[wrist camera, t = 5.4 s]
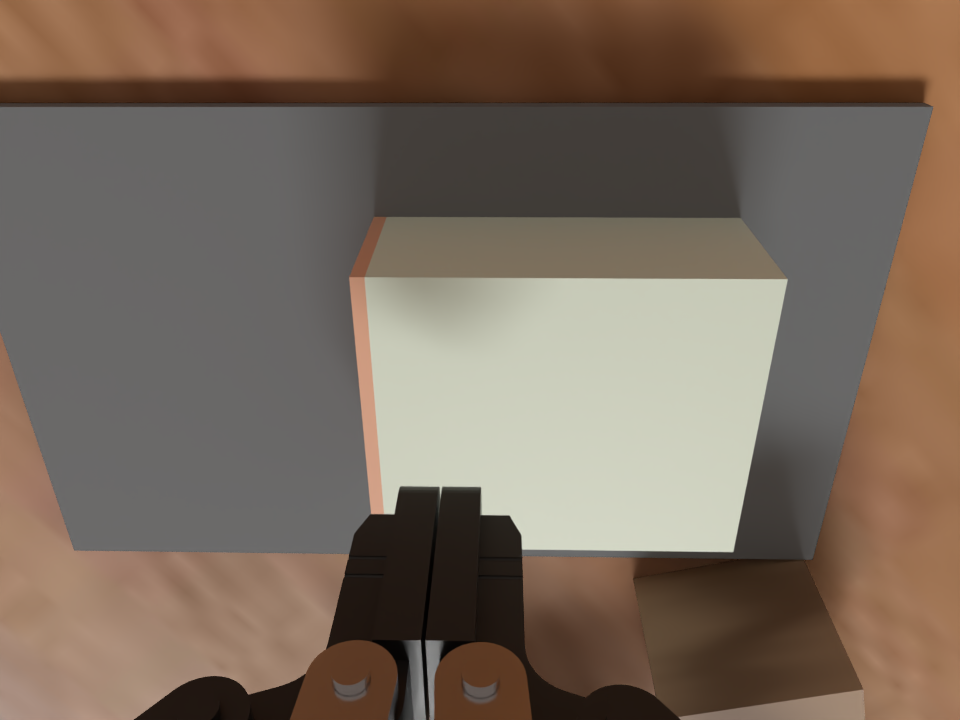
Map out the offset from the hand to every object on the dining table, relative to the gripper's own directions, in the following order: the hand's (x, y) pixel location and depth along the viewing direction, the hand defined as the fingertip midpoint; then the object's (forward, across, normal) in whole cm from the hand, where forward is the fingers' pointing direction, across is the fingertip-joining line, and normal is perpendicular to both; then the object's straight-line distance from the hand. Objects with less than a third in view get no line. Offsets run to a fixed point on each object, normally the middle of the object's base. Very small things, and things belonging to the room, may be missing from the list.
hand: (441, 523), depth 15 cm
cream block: (+5, +2, 0) cm, 5 cm away
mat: (+7, +1, 0) cm, 7 cm away
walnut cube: (+7, -8, +10) cm, 15 cm away
